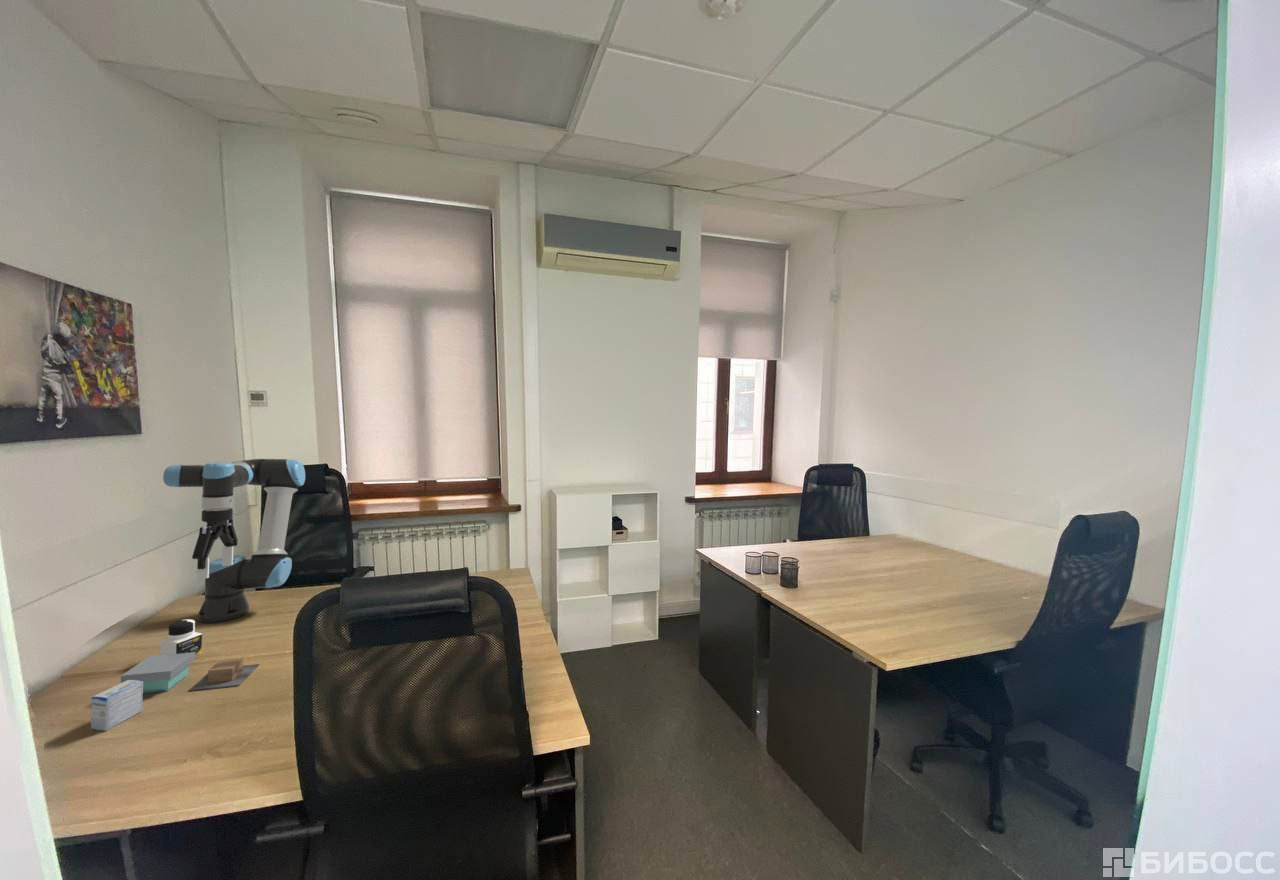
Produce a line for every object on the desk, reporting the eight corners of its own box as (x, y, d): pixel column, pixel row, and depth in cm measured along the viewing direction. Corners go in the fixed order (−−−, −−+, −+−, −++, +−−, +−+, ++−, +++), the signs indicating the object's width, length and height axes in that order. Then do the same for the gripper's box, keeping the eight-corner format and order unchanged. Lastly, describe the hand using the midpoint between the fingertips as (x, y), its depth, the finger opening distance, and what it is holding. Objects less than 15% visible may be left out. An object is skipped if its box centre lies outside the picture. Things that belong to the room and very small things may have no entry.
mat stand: (213, 669, 140) (213, 656, 140) (259, 665, 144) (259, 652, 144) (188, 691, 129) (188, 677, 129) (238, 686, 133) (239, 672, 133)
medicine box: (127, 710, 120) (128, 679, 119) (142, 711, 120) (143, 680, 119) (90, 730, 112) (90, 696, 112) (106, 731, 112) (107, 697, 111)
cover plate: (149, 663, 135) (150, 656, 135) (195, 659, 138) (195, 652, 138) (120, 684, 124) (120, 675, 124) (170, 679, 128) (170, 670, 128)
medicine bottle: (176, 664, 142) (177, 627, 142) (159, 661, 144) (160, 624, 143) (202, 653, 149) (203, 618, 149) (185, 650, 151) (186, 616, 150)
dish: (151, 678, 134) (151, 665, 134) (188, 674, 137) (188, 661, 137) (127, 695, 126) (128, 681, 126) (168, 691, 129) (168, 677, 128)
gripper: (208, 516, 136) (206, 583, 137) (251, 502, 160) (249, 559, 161) (177, 516, 134) (175, 585, 135) (225, 502, 158) (223, 560, 158)
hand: (215, 571), depth 148 cm, fingers open, 13 cm apart
